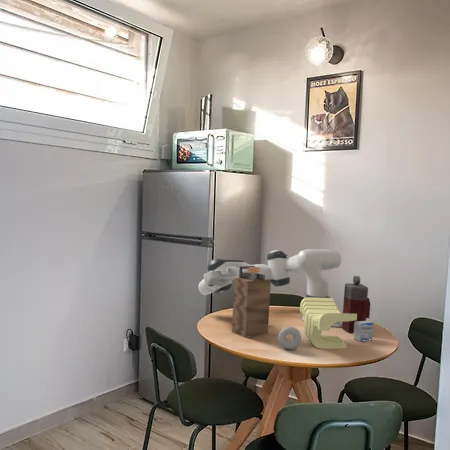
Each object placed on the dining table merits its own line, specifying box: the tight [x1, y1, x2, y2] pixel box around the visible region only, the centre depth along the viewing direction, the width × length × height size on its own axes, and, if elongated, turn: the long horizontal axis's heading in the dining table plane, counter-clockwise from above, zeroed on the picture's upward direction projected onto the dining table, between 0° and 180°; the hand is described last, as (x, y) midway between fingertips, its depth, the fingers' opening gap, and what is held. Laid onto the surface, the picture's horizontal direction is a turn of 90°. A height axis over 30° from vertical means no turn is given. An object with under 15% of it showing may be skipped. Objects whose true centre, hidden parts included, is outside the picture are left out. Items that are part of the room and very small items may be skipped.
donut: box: [277, 325, 302, 351], centre depth 192 cm, size 10×4×10 cm, turn 89°
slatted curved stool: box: [299, 297, 357, 349], centre depth 203 cm, size 30×16×18 cm, turn 6°
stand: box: [231, 266, 272, 338], centre depth 213 cm, size 10×14×31 cm
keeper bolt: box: [226, 266, 260, 279], centre depth 219 cm, size 20×6×5 cm, turn 37°
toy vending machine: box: [341, 275, 371, 334], centre depth 226 cm, size 9×11×28 cm
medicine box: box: [353, 320, 374, 342], centre depth 212 cm, size 8×4×9 cm, turn 117°
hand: (232, 269), depth 225 cm, fingers closed on keeper bolt, 3 cm apart
